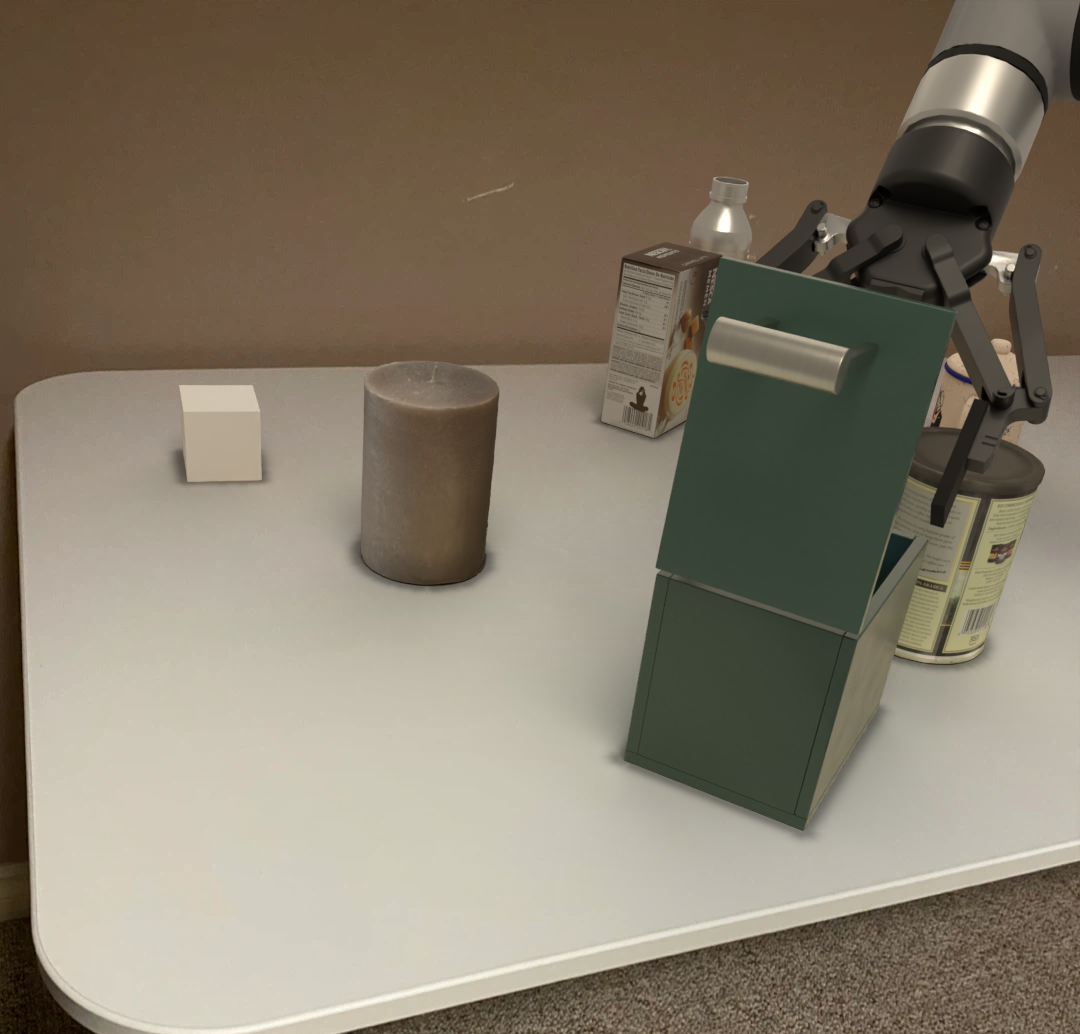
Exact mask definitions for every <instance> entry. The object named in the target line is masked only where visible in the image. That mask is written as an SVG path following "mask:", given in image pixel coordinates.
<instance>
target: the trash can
mask: <svg viewBox="0 0 1080 1034" xmlns="http://www.w3.org/2000/svg"><path fill="white" fill-rule="evenodd" d="M928 542H929V539H926V538H923V537H920V536H916V535H913V534H910V533H907V532H903V531H900V530H897V529H892V532H891V535H890V539H889V542H888V545H887V549H886V552H885V555H884V558H883V562H882V565H881V568H880V572H879V575H878V578H877V582H876V585H875V588H874V591H873V595H872V598H871V601H870V605H869V608H868V611H867V615H866V618H865V621H864V624H863V628H862V631H861V632H860V633H859V634H858V635H856V634H853V633H850V632H847V631H844V630H841V629H838V628H834V627H831V626H828V625H825V624H822V623H819V622H816V621H813V620H810V619H807V618H804V617H801V616H798V615H795V614H792V613H789V612H786V611H783V610H780V609H777V608H774V607H771V606H768V605H765V604H762V603H759V602H756V601H753V600H750V599H747V598H744V597H741V596H738V595H735V594H732V593H729V592H726V591H723V590H720V589H717V588H714V587H711V586H708V585H705V584H702V583H699V582H696V581H693V580H690V579H687V578H684V577H681V576H678V575H675V574H672V573H669V572H666V571H663V570H660V569H659V571H658V572H656V575H655V580H654V585H653V591H652V597H651V598H652V599H651V603H650V607H649V608H650V609H649V613H648V614H649V615H648V619H647V627H646V631H645V632H646V633H645V636H644V644H643V649H642V654H641V660H640V661H641V662H640V665H639V666H640V667H639V672H638V678H637V683H636V688H635V695H634V700H633V706H632V711H631V717H630V724H629V728H628V734H627V740H626V747H625V752H624V759H623V761H625V762H628V763H631V764H633V765H636V766H638V767H641V768H642V769H646V770H648V771H651V772H653V773H656V774H658V775H661V776H664V777H666V778H669V779H671V780H674V781H676V782H679V783H682V784H684V785H686V786H689V787H690V788H694V789H697V790H698V791H702V792H705V793H706V794H708V795H711V796H713V797H716V798H720V799H722V800H724V801H727V802H730V803H732V804H735V805H737V806H740V807H742V808H745V809H747V810H749V811H753V812H754V813H757V814H760V815H762V816H765V817H768V818H770V819H773V820H775V821H778V822H780V823H783V824H786V825H788V826H791V827H793V828H796V829H797V830H801V831H805V829H806V828H807V827H808V825H809V823H810V821H811V820H812V818H813V816H814V815H815V813H816V812H817V810H818V809H819V807H820V805H821V803H822V801H823V800H824V798H825V797H826V795H827V794H828V792H829V790H830V788H831V787H832V785H833V783H834V782H835V780H836V779H837V777H838V776H839V774H840V772H841V770H842V769H843V767H844V766H845V764H846V762H847V761H848V759H849V758H850V756H851V754H852V753H853V751H854V749H855V748H856V746H857V744H858V743H859V741H860V739H861V738H862V736H863V735H864V733H865V732H866V730H867V728H868V726H869V725H870V723H871V721H872V720H873V718H874V717H875V715H876V713H877V712H878V709H879V706H880V702H881V699H882V696H883V692H884V689H885V687H886V682H887V680H888V676H889V673H890V670H891V666H892V662H893V659H894V656H895V655H894V653H895V650H896V647H897V643H898V640H899V637H900V633H901V630H902V627H903V624H904V620H905V617H906V614H907V611H908V607H909V604H910V601H911V597H912V594H913V591H914V588H915V584H916V581H917V578H918V574H919V571H920V568H921V565H922V561H923V558H924V555H925V551H926V548H927V545H928Z"/></svg>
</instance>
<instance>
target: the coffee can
mask: <svg viewBox="0 0 1080 1034" xmlns="http://www.w3.org/2000/svg"><path fill="white" fill-rule="evenodd" d="M961 430H962V429H957V428H949V427H929V426H923V430H922V433H921V436H920V440H919V443H918V446H917V450H916V453H915V456H914V459H913V463H912V466H911V469H910V473H909V476H908V479H907V483H906V486H905V489H904V492H903V496H902V499H901V502H900V506H899V509H898V512H897V516H896V519H895V522H894V525H893V529H897V530H900V531H903V532H907V533H910V534H913V535H916V536H920V537H923V538H926V539H929V542H928V545H927V548H926V551H925V555H924V558H923V561H922V565H921V568H920V571H919V574H918V578H917V581H916V584H915V588H914V591H913V594H912V597H911V601H910V604H909V607H908V611H907V614H906V617H905V620H904V624H903V627H902V630H901V633H900V637H899V640H898V643H897V647H896V650H895V653H894V656H896V657H899V658H902V659H907V660H911V661H915V662H920V663H925V664H933V665H954V664H959V663H964V662H968V661H971V660H973V659H975V658H976V657H978V656H979V655H980V654H981V653H982V652H983V651H984V650H985V645H986V640H987V636H988V634H989V631H990V629H991V626H992V622H993V619H994V616H995V614H996V612H997V607H998V605H999V602H1000V598H1001V596H1002V594H1003V590H1004V588H1005V584H1006V581H1007V578H1008V575H1009V572H1010V569H1011V566H1012V564H1013V560H1014V557H1015V556H1016V555H1015V554H1016V552H1017V550H1018V546H1019V544H1020V541H1021V538H1022V535H1023V532H1024V529H1025V526H1026V523H1027V520H1028V517H1029V514H1030V512H1031V508H1032V505H1033V502H1034V500H1035V497H1036V493H1037V491H1038V487H1039V486H1040V485H1041V484H1042V482H1043V480H1044V478H1045V475H1046V468H1045V465H1044V463H1043V462H1042V461H1041V460H1040V459H1039V458H1038V457H1037V456H1035V454H1033V453H1031V452H1030V451H1028V450H1027V449H1025V448H1024V447H1022V446H1019V445H1018V444H1017V445H1015V444H1013V443H1011V442H1008V441H1006V440H1003V439H1001V441H1000V444H999V446H998V449H997V451H996V454H995V456H994V458H993V461H992V463H991V466H990V468H989V469H988V470H987V471H986V472H985V473H984V474H980V473H976V472H972V471H969V470H967V471H966V474H965V476H964V479H963V481H962V484H961V486H960V489H959V491H958V494H957V496H956V498H955V501H954V503H953V506H952V508H951V511H950V513H949V516H948V518H947V520H946V523H945V525H944V528H940V527H937V526H933V525H930V513H931V503H932V500H933V498H934V495H935V493H936V490H937V488H938V486H939V483H940V481H941V478H942V476H943V473H944V471H945V469H946V466H947V464H948V461H949V459H950V456H951V454H952V452H953V449H954V447H955V444H956V442H957V439H958V437H959V435H960V432H961Z"/></svg>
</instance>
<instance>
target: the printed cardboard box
mask: <svg viewBox="0 0 1080 1034" xmlns="http://www.w3.org/2000/svg"><path fill="white" fill-rule="evenodd" d="M722 256H723V255H721V254H716V253H711V252H707V251H702V250H698V249H694V248H690V247H689V246H685V245H681V244H676V243H672V242H668V241H663V242H661V243H658V244H655V245H652V246H649V247H646V248H643V249H640V250H637V251H635V252H632V253H629V254H626V255H623V256H621V261H620V269H619V278H618V284H617V285H618V286H617V293H616V301H615V308H614V314H613V315H614V316H613V323H612V331H611V338H610V347H609V355H608V362H607V370H606V371H607V372H606V377H605V387H604V392H603V393H604V394H603V401H602V407H601V417H600V421H601V422H602V423H604V424H606V425H609V426H613V427H617V428H620V429H623V430H625V431H629V432H632V433H636V434H639V435H642V436H645V437H647V438H651V439H656V438H658V437H659V436H661V435H663V434H665V433H666V432H669V431H670V430H671V429H674V428H675V427H677V426H679V425H680V424H682V423H683V422H686V419H687V414H688V409H689V404H690V400H691V395H692V390H693V385H694V381H695V376H696V371H697V366H698V362H699V357H700V352H701V347H702V342H703V338H704V333H705V328H706V327H705V323H704V319H703V315H702V312H703V309H704V308H705V307H706V306H707V305H708V304H709V303H710V302H711V300H712V295H713V290H714V285H715V281H716V276H717V271H718V266H719V261H720V258H721V257H722Z"/></svg>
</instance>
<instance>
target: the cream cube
mask: <svg viewBox="0 0 1080 1034" xmlns="http://www.w3.org/2000/svg"><path fill="white" fill-rule="evenodd" d="M178 390H179V406H180V407H179V409H180V425H181V443H182V456H183V463H184V468H185V473H186V475H185V476H186V481H187V483H205V482H247V481H249V482H250V481H254V482H255V481H256V482H257V481H262V480H263V476H262V475H263V472H262V471H263V470H262V429H261V428H262V427H261V426H262V425H261V409H260V405H259V402H258V399H257V396H256V393H255V388H254V385H252V384H232V385H231V384H209V385H208V384H186V385H185V384H178Z"/></svg>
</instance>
